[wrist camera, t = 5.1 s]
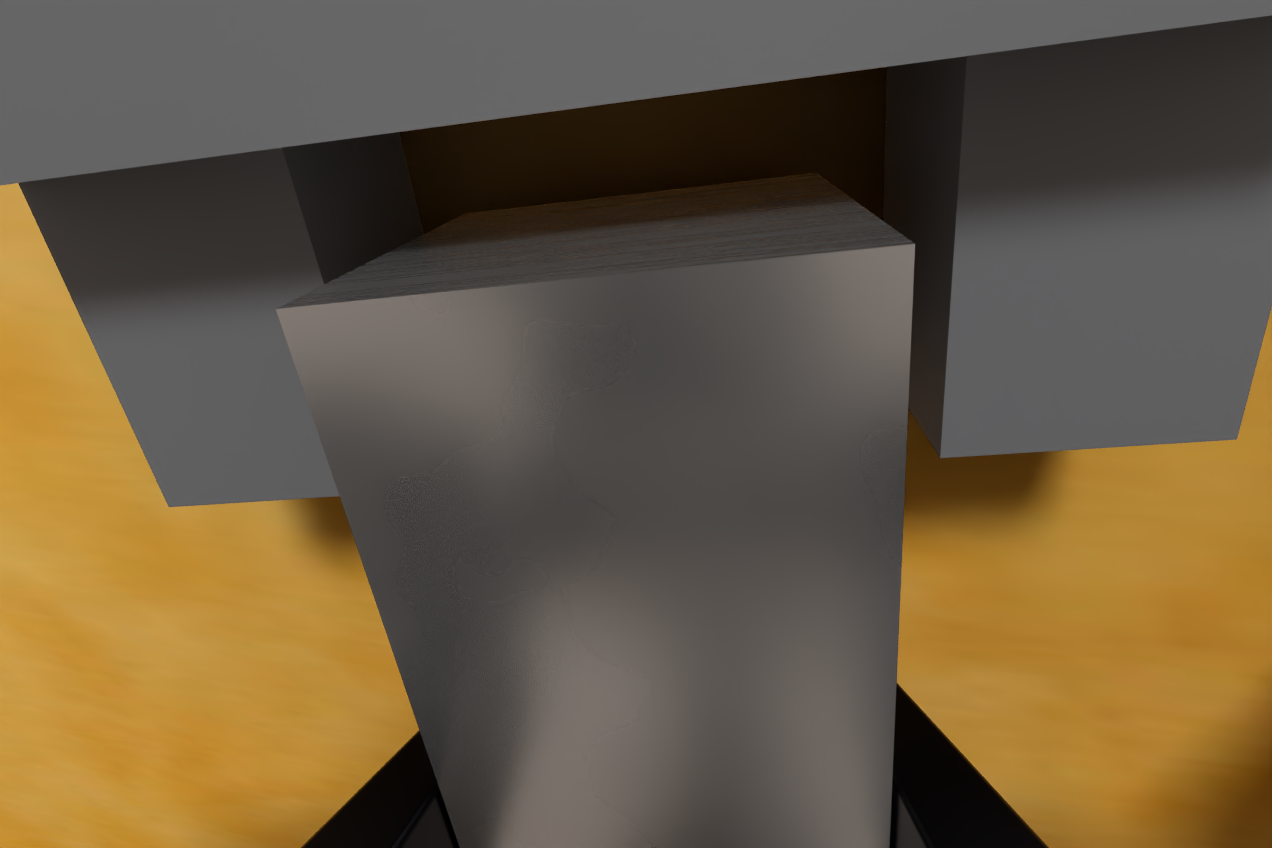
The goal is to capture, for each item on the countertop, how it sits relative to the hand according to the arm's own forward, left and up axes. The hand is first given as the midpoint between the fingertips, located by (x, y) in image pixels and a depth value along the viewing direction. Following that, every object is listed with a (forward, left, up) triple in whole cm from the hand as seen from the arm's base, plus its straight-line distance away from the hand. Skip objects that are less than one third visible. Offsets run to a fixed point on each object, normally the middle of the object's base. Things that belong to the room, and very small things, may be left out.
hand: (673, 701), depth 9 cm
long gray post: (0, 0, -2) cm, 2 cm away
